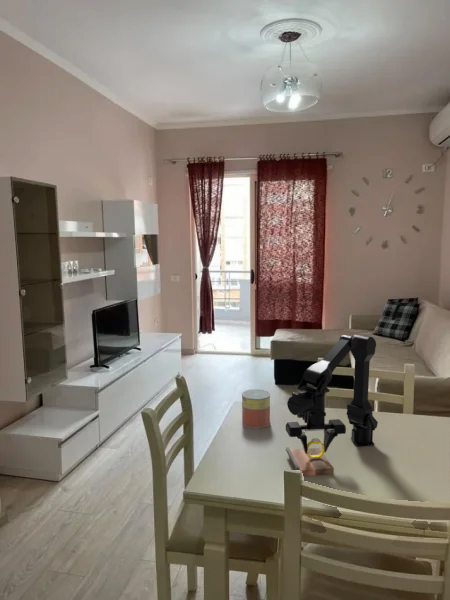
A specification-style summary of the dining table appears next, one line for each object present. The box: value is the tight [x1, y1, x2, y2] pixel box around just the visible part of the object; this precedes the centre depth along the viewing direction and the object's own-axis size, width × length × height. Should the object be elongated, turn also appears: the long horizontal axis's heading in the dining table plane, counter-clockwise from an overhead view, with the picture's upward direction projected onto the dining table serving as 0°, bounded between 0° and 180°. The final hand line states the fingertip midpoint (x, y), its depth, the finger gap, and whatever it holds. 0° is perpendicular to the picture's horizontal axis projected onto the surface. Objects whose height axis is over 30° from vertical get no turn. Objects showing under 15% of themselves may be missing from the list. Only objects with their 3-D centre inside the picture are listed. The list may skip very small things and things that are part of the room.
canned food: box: [241, 388, 271, 429], centre depth 184 cm, size 11×11×12 cm
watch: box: [307, 438, 326, 458], centre depth 150 cm, size 6×3×6 cm, turn 98°
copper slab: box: [285, 446, 335, 477], centre depth 151 cm, size 12×14×3 cm
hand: (315, 452), depth 150 cm, fingers closed on watch, 6 cm apart
